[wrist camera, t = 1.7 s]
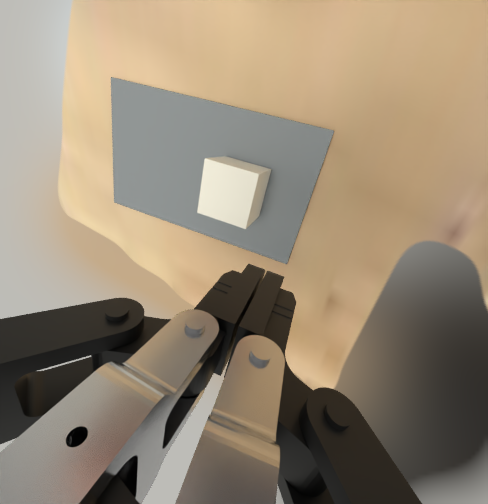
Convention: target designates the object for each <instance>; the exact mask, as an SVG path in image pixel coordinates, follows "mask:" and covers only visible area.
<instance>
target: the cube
mask: <svg viewBox="0 0 488 504" xmlns="http://www.w3.org/2000/svg"><path fill="white" fill-rule="evenodd" d="M271 171H272V169H270V168H267V167H263V166H260V165H256V164H253V163H249V162H246V161H242V160H239V159H235V158H232V157H228V156H223V157H213V158H205V160H204V167H203V174H202V181H201V189H200V196H199V203H198V210H197V213H200V214H202V215H205V216H208V217H211V218H214V219H217V220H220V221H223V222H226V223H229V224H232V225H235V226H238V227H241V228H243V229H246V228H247V227H248V226H249V225H250V224H252V223H253V222H254V221H255V220H256V219H257V218H258V217H259V216H260V213H261V209H262V205H263V201H264V198H265V194H266V190H267V186H268V183H269V179H270V175H271Z"/></svg>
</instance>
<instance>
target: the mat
mask: <svg viewBox="0 0 488 504" xmlns="http://www.w3.org/2000/svg"><path fill="white" fill-rule="evenodd" d="M111 100H112V138H113V176H114V202H115V203H117V204H120V205H123V206H126V207H129V208H131V209H134V210H137V211H140V212H143V213H145V214H148V215H151V216H154V217H156V218H159V219H162V220H165V221H168V222H170V223H173V224H176V225H179V226H182V227H184V228H187V229H190V230H193V231H196V232H198V233H201V234H204V235H207V236H209V237H212V238H215V239H218V240H221V241H223V242H226V243H229V244H232V245H235V246H237V247H240V248H243V249H246V250H249V251H251V252H254V253H257V254H260V255H262V256H265V257H268V258H271V259H274V260H276V261H279V262H282V263H285V264H287V262H288V260H289V257H290V254H291V251H292V248H293V246H294V243H295V240H296V237H297V234H298V232H299V229H300V226H301V223H302V220H303V217H304V215H305V212H306V209H307V206H308V203H309V201H310V198H311V195H312V192H313V189H314V186H315V184H316V181H317V178H318V175H319V172H320V170H321V167H322V164H323V161H324V158H325V155H326V153H327V150H328V147H329V144H330V141H331V139H332V136H333V133H334V131H333V130H329V129H325V128H321V127H316V126H312V125H308V124H304V123H300V122H296V121H292V120H287V119H283V118H279V117H275V116H271V115H267V114H262V113H258V112H254V111H250V110H246V109H242V108H237V107H233V106H229V105H225V104H221V103H217V102H213V101H208V100H204V99H200V98H196V97H192V96H188V95H183V94H179V93H175V92H171V91H167V90H163V89H158V88H154V87H150V86H146V85H142V84H138V83H134V82H129V81H125V80H121V79H117V78H113V77H111ZM223 156H228V157H232V158H235V159H239V160H242V161H246V162H249V163H253V164H256V165H260V166H263V167H267V168H270V169H272V171H271V175H270V179H269V183H268V186H267V190H266V194H265V198H264V201H263V205H262V209H261V213H260V216H259V217H258V218H257V219H256V220H255V221H254V222H253V223H252V224H250V225H249V226H248V227H247V228H246V229H243V228H241V227H238V226H235V225H232V224H229V223H226V222H223V221H220V220H217V219H214V218H211V217H208V216H205V215H202V214H200V213H197V210H198V203H199V196H200V189H201V181H202V174H203V167H204V160H205V158H213V157H223Z"/></svg>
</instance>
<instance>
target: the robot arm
mask: <svg viewBox="0 0 488 504" xmlns="http://www.w3.org/2000/svg"><path fill="white" fill-rule="evenodd" d="M264 273H265V270H264V269H262V268H259V267H256V266H253V265H251V264H248V265H247V267H246V268H245V269H244V271H243V272H242V274H241V273H239V272H236V271H233V270H232V271H230V272H228V273H225V274H223V275H222V276H221V278H220V279H219V280H218V281H217V282H216V284H215V285H214V286H213V288H211V289H210V291H209V292H208V293H207V294H206V295H205V297H204V298H203V299H202V300H201V301H200V302H199V304H198V305H197V306H196V307H195V308H194V310H186V311H183V312H181V313H179V314H177V315H176V316H175V317H174V318H173V319H159V318H152V317H146V316H144V309H143V307H142V305H141V304H140V303H138V302H137V301H135V300H132V299H128V298H114V299H109V300H103V301H97V302H92V303H86V304H81V305H76V306H70V307H65V308H59V309H54V310H48V311H43V312H37V313H32V314H26V315H21V316H16V317H10V318H4V319H0V444H2V443H5V442H7V441H10V440H12V439H15V438H17V437H18V438H17V439H15V440H14V441H13V442H12V443H11V444H10V445H8V446H7V447H6V448H5V449H4V450H3V451H1V452H0V504H141V503H142V502H143V500H144V498H145V496H146V495H147V493H148V491H149V490H150V488H151V486H152V484H153V482H154V480H155V478H156V476H157V474H158V472H159V469H160V467H161V464H162V462H163V460H164V458H165V456H166V454H167V452H168V451H169V449H170V447H171V446H172V444H173V443H174V441H175V439H176V438H177V436H178V434H179V433H180V431H181V430H182V428H183V426H184V425H185V423H186V421H187V419H188V418H189V416H190V415H191V413H192V412H193V410H194V408H195V407H196V405H197V403H198V402H199V400H200V399H201V397H202V395H203V393H204V390H205V388H206V386H207V384H208V382H209V381H210V379H211V377H212V375H213V373H216V374H218V375H220V376H221V374H222V372H223V370H224V368H225V366H226V364H227V362H228V360H229V362H228V366H227V369H226V373H225V376H224V380H223V383H222V386H221V389H220V391H219V394H218V397H217V399H216V402H215V405H214V407H213V410H212V412H211V415H209V417H208V420H207V422H206V424H205V427H204V430H203V432H202V435H201V438H200V440H199V443H198V445H197V448H196V450H195V453H194V456H193V458H192V461H191V464H190V466H189V469H188V471H187V474H186V477H185V479H184V482H183V485H182V487H181V490H180V493H179V496H178V498H177V500H176V503H175V504H276V493H277V484H278V486H279V489H280V492H281V495H282V498H283V501H284V504H422V503H421V502H420V500H419V499H418V497H417V496H416V494H415V493H414V492H413V490H412V488H411V487H410V485H409V484H408V482H407V481H406V479H405V478H404V476H403V475H402V474H401V472H400V471H399V469H398V468H397V466H396V465H395V463H394V462H393V461H392V459H391V457H390V456H389V454H388V453H387V451H386V450H385V449H384V447H383V445H382V444H381V443H380V441H379V440H378V438H377V437H376V435H375V434H374V432H373V431H372V429H371V428H370V426H369V425H368V423H367V422H366V420H365V419H364V417H363V416H362V414H361V413H360V411H359V410H358V409H357V407H356V406H355V405H354V404H353V403H352V402H351V401H350V400H349V399H348V398H347V397H346V396H344V395H343V394H341V393H340V392H338V391H336V390H334V389H330V388H318V389H315V390H314V391H313V390H312V389H310V388H309V387H308V386H307V385H305V384H304V383H303V382H302V381H300V380H299V379H298V378H297V377H296V376H295V375H294V374H293V372H292V371H291V370H290V368H289V366H288V364H287V362H286V358H285V349H286V344H287V340H288V336H289V331H290V327H291V323H292V318H293V314H294V309H295V305H296V301H295V298H294V295H293V293H291V292H289V291H286V290H283V289H281V288H280V287H281V285H282V282H283V279H284V277H283V276H281V275H278V274H275V273H273V272H270V271H267V273H266V275H265V276H264ZM263 277H264V278H263ZM89 355H91V356H92V357H89V358H86V359H83V360H79V361H76V362H72V363H69V364H65V365H62V366H58V367H55V368H52V369H48V370H44V371H37V370H41V369H44V368H48V367H51V366H54V365H58V364H61V363H65V362H68V361H72V360H75V359H79V358H82V357H86V356H89ZM229 358H230V359H229Z"/></svg>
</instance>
